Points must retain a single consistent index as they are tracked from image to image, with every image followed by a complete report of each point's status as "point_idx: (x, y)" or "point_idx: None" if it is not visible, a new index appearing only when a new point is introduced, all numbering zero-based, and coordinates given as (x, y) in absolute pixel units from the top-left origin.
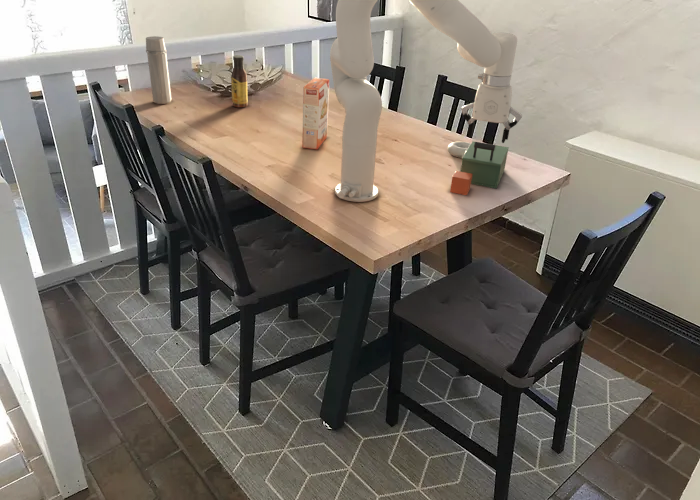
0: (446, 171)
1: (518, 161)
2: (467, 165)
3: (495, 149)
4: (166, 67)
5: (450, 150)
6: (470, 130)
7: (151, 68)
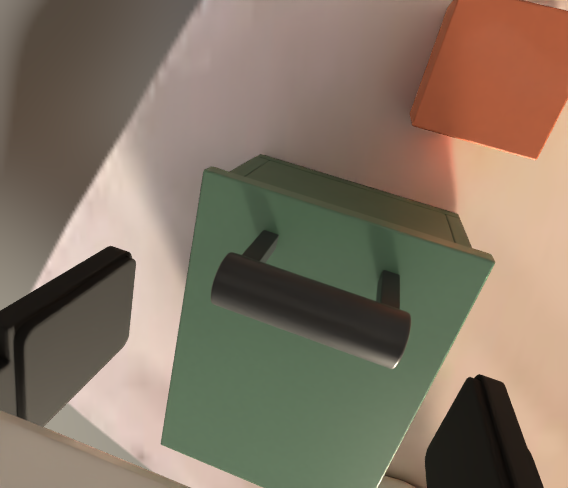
0: (504, 338)
1: None
2: None
3: (230, 415)
4: None
5: None
6: (517, 449)
7: None
